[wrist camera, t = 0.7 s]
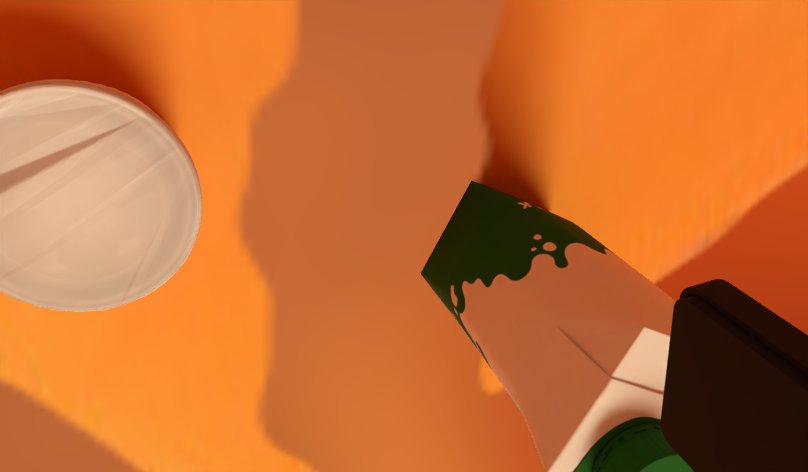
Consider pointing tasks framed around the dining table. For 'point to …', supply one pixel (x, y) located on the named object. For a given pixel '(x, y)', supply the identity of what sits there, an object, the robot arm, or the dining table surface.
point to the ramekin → (90, 196)
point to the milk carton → (560, 331)
